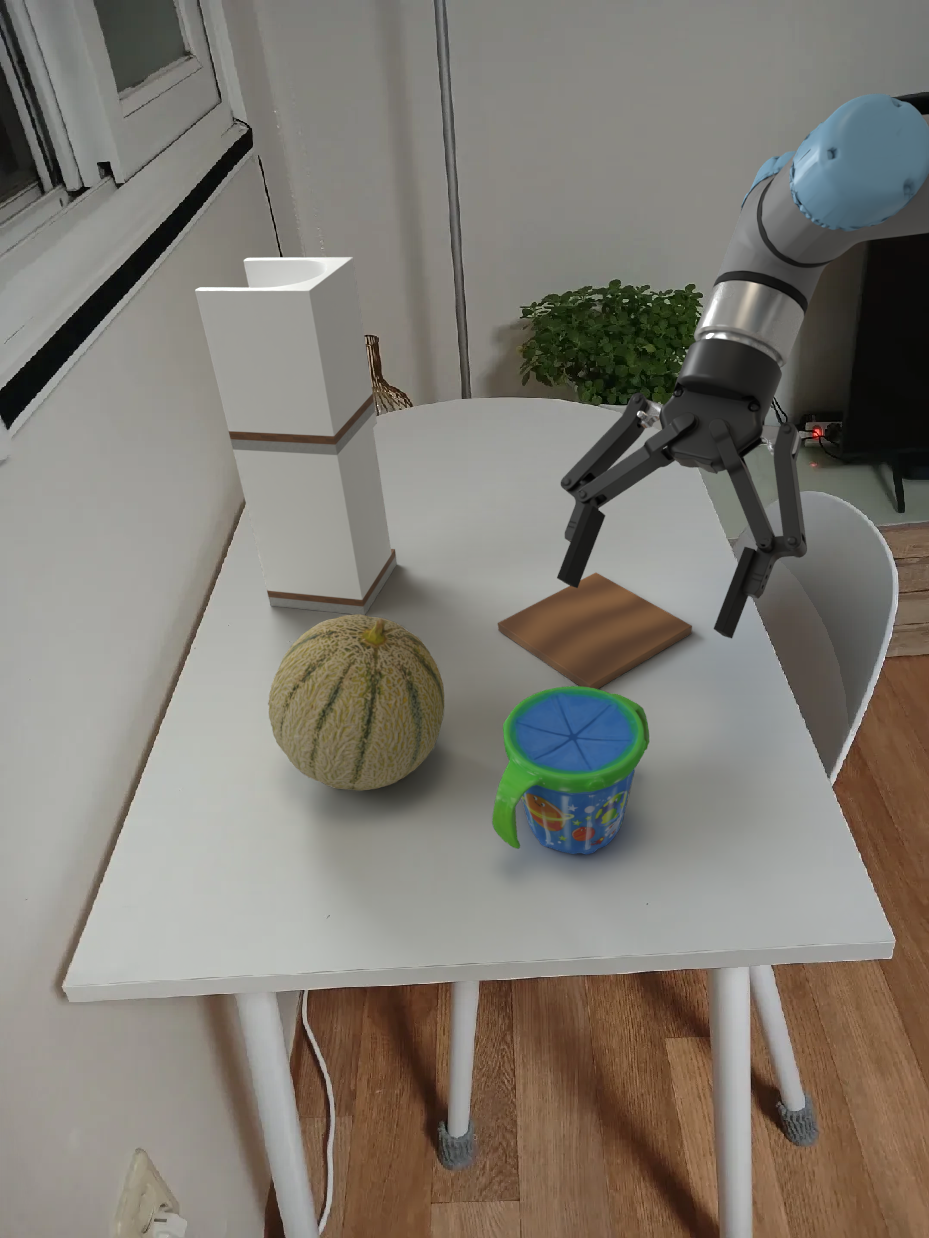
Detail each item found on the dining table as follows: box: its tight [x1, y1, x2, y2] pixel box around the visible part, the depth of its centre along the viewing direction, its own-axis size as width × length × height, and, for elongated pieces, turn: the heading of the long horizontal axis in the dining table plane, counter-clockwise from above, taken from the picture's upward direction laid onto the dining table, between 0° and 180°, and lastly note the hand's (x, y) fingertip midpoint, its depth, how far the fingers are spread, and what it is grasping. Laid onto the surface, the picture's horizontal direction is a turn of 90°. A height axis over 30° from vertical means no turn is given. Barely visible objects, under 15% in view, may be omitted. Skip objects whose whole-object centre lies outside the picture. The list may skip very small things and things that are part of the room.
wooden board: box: [497, 572, 693, 690], centre depth 98 cm, size 14×14×1 cm
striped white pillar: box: [194, 256, 398, 616], centre depth 100 cm, size 11×11×35 cm
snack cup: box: [491, 685, 650, 855], centre depth 74 cm, size 16×10×10 cm
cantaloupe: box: [267, 614, 446, 791], centre depth 80 cm, size 15×15×15 cm
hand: (641, 607), depth 75 cm, fingers open, 13 cm apart
